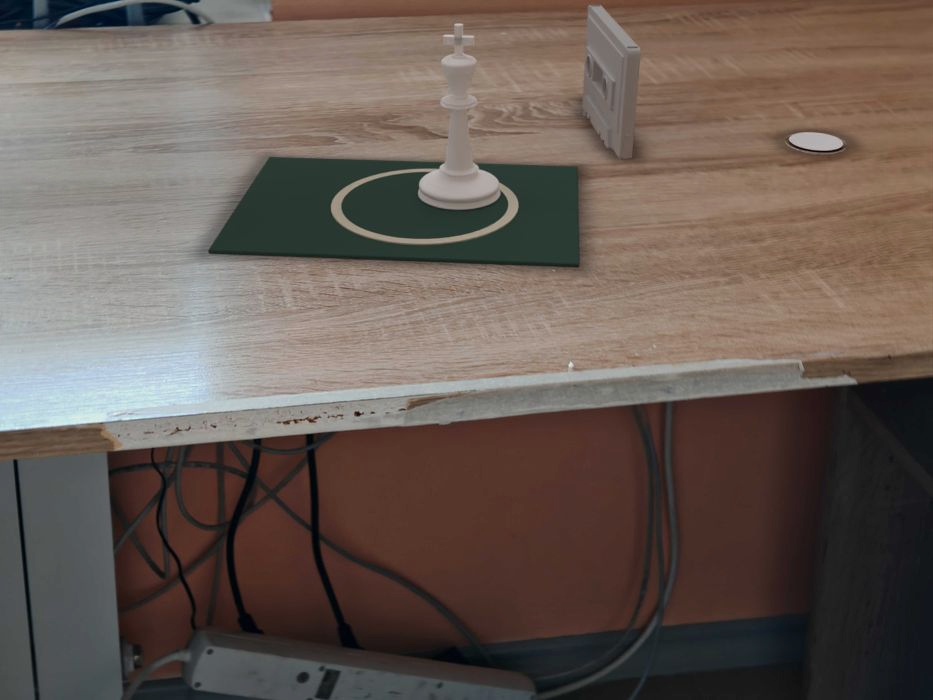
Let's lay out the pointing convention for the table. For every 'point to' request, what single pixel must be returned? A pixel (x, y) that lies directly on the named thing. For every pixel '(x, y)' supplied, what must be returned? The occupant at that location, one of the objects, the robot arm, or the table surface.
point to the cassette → (610, 81)
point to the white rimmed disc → (815, 142)
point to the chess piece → (459, 140)
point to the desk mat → (403, 215)
